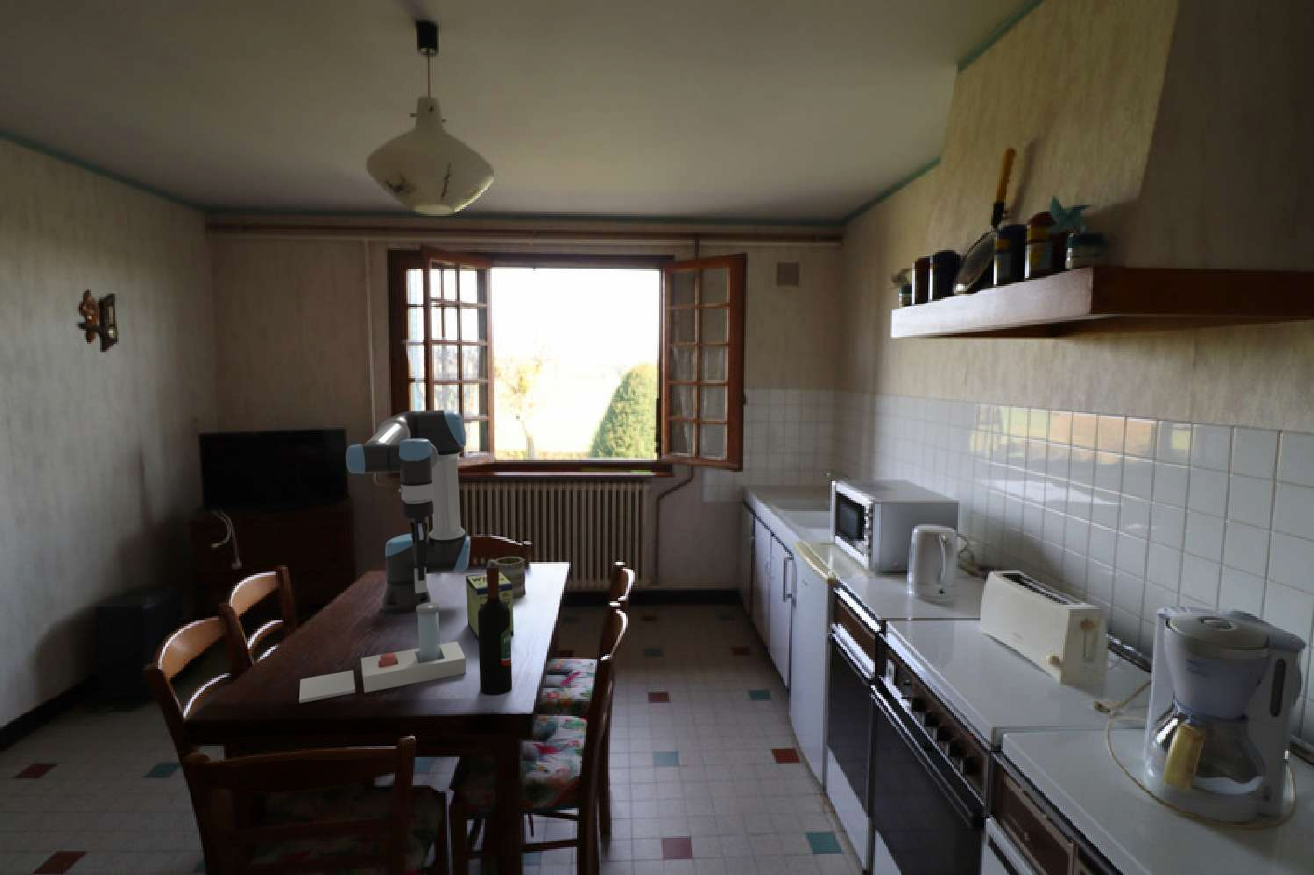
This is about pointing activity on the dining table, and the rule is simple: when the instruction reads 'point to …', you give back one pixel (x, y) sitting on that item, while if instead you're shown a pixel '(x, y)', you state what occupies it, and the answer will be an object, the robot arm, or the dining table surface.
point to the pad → (326, 686)
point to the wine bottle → (494, 640)
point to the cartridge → (428, 632)
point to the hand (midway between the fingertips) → (421, 591)
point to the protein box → (485, 598)
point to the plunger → (388, 659)
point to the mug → (512, 573)
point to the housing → (412, 668)
